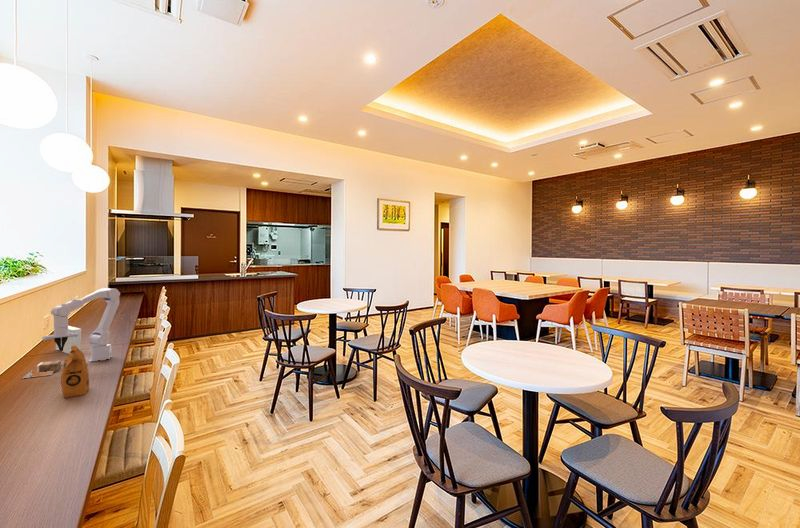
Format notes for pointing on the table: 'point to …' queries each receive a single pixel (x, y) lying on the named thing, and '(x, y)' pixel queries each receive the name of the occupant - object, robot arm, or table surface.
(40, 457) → the table surface
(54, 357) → the table surface
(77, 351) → the coffee package
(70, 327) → the skincare box
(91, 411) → the table surface
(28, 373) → the mat
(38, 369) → the brown and cream block
